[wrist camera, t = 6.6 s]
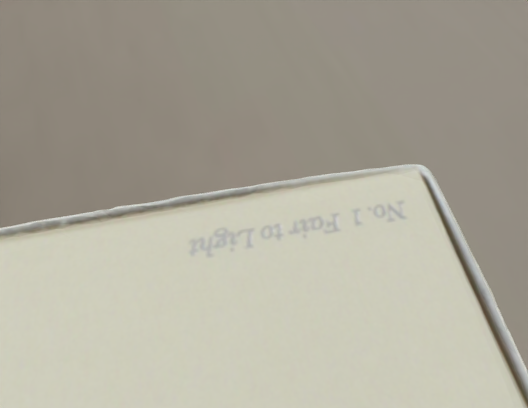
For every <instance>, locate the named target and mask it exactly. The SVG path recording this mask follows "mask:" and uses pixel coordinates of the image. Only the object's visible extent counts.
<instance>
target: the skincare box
mask: <svg viewBox="0 0 528 408" xmlns="http://www.w3.org/2000/svg"><path fill="white" fill-rule="evenodd" d="M0 408H528V370H527V368H526V366H525V364H524V362H523V360H522V358H521V356H520V354H519V351H518V349H517V347H516V345H515V343H514V341H513V338H512V336H511V334H510V332H509V330H508V328H507V326H506V324H505V322H504V320H503V317H502V315H501V313H500V311H499V308H498V306H497V304H496V301H495V298H494V296H493V293H492V291H491V289H490V287H489V286H488V284H487V282H486V280H485V278H484V276H483V273H482V271H481V269H480V267H479V265H478V263H477V261H476V259H475V257H474V255H473V253H472V251H471V249H470V247H469V245H468V243H467V241H466V239H465V237H464V235H463V233H462V231H461V229H460V227H459V225H458V223H457V221H456V219H455V217H454V215H453V213H452V211H451V209H450V207H449V205H448V203H447V201H446V199H445V197H444V195H443V193H442V191H441V189H440V187H439V184H438V182H437V180H436V178H435V177H434V175H433V174H432V172H431V171H430V170H429V169H427V168H426V167H425V166H423V165H419V164H412V165H399V166H392V167H385V168H375V169H365V170H359V171H352V172H343V173H333V174H324V175H319V176H311V177H306V178H300V179H294V180H286V181H279V182H271V183H265V184H259V185H255V186H249V187H242V188H233V189H227V190H221V191H214V192H208V193H201V194H194V195H187V196H180V197H176V198H172V199H168V200H163V201H157V202H151V203H145V204H137V205H128V206H118V207H115V208H112V209H108V210H98V211H94V212H88V213H82V214H77V215H71V216H65V217H58V218H52V219H46V220H39V221H33V222H29V223H24V224H19V225H15V226H10V227H4V228H0Z"/></svg>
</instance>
